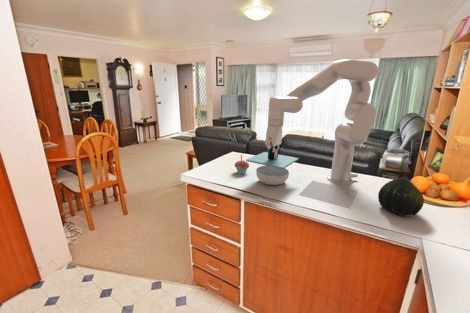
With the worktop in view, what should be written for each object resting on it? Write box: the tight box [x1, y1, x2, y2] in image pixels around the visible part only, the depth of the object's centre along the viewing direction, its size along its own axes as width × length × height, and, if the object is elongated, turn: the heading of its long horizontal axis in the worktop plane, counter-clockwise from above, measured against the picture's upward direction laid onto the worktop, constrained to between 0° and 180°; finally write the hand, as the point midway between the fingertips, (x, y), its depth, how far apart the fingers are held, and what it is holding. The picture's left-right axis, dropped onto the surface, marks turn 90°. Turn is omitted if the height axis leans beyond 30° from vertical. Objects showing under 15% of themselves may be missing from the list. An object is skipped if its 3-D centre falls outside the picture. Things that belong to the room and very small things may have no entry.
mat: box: [298, 180, 358, 209], centre depth 112 cm, size 22×22×1 cm
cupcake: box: [234, 153, 250, 175], centre depth 137 cm, size 9×8×12 cm
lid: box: [246, 149, 299, 169], centre depth 120 cm, size 20×20×6 cm
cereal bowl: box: [255, 165, 290, 186], centre depth 123 cm, size 17×17×7 cm
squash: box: [377, 176, 425, 217], centre depth 95 cm, size 14×15×15 cm
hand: (272, 157), depth 120 cm, fingers closed on lid, 4 cm apart
